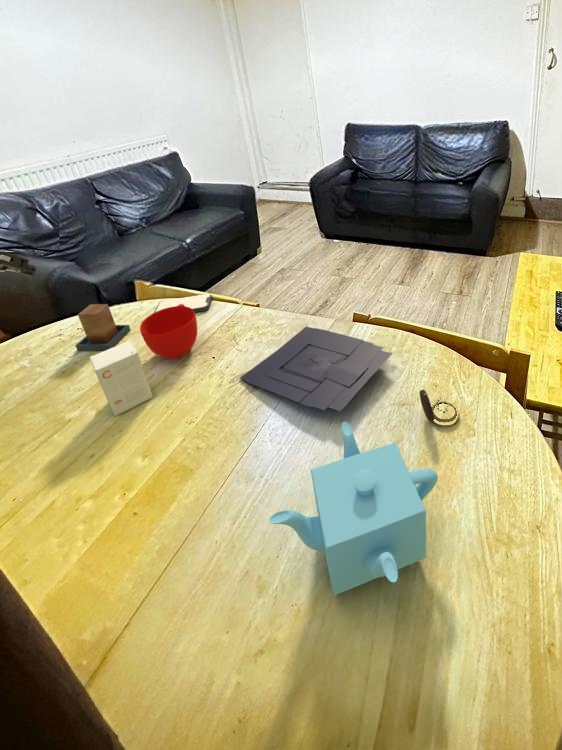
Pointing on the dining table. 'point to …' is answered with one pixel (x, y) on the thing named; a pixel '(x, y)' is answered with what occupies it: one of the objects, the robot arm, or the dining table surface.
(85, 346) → the cradle
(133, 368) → the small box
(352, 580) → the teakettle
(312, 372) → the dark grey flat slab
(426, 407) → the compass
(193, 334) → the ceramic cup
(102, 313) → the pad block
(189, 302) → the phone case
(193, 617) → the dining table surface
